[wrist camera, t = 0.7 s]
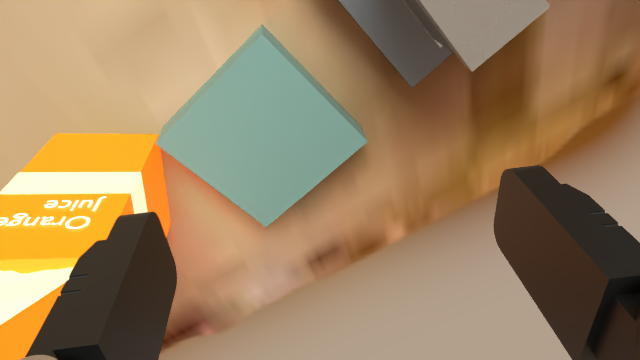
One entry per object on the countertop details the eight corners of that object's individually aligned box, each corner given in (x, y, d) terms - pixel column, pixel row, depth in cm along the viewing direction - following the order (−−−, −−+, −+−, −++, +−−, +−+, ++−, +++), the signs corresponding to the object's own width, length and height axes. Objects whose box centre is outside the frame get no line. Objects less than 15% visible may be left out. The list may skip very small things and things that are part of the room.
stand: (262, 24, 31) (262, 34, 29) (360, 125, 36) (367, 141, 34) (163, 126, 34) (155, 143, 32) (265, 206, 39) (266, 227, 37)
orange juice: (79, 226, 38) (-69, 478, 21) (53, 132, 34) (-160, 357, 17) (173, 224, 39) (104, 464, 22) (160, 133, 35) (63, 346, 18)
